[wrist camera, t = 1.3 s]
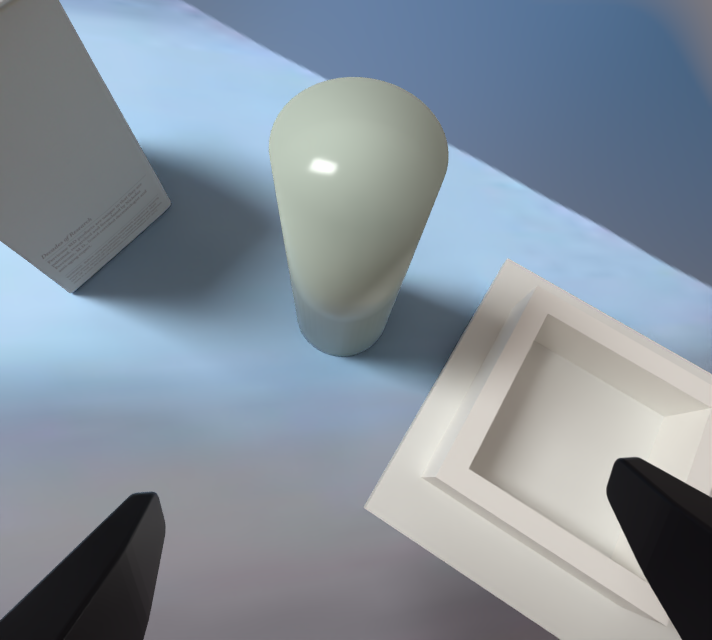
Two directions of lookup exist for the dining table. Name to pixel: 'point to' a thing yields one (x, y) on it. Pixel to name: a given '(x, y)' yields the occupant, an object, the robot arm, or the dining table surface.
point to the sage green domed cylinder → (353, 202)
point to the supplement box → (65, 151)
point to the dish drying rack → (547, 457)
